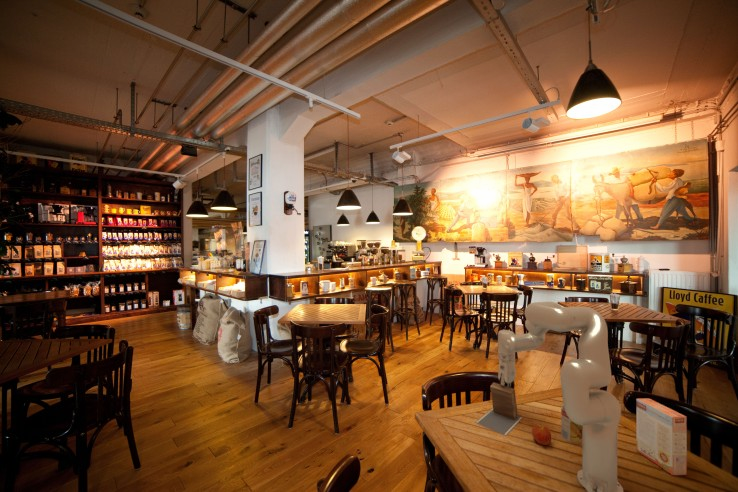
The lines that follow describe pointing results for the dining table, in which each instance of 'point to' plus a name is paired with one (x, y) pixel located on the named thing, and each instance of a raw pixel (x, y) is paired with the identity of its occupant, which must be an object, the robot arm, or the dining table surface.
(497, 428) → the mat
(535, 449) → the dining table surface
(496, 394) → the plaque
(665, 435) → the cracker box
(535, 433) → the fruit
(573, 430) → the canned food
